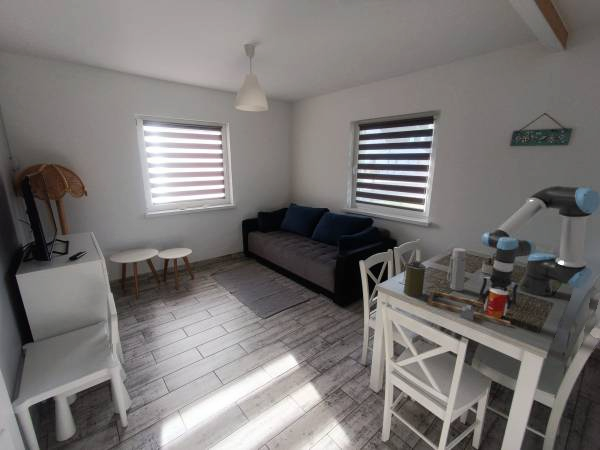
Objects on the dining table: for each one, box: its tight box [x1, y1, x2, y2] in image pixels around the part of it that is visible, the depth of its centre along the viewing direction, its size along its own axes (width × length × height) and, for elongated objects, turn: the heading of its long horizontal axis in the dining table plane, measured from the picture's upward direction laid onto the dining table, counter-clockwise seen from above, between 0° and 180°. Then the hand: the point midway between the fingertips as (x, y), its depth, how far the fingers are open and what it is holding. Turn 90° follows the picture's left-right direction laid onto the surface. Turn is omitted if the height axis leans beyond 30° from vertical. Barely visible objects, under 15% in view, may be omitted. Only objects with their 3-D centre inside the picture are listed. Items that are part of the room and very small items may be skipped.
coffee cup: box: [486, 285, 510, 319], centre depth 132 cm, size 8×8×15 cm
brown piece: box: [426, 289, 511, 328], centre depth 140 cm, size 36×15×2 cm, turn 55°
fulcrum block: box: [460, 304, 475, 321], centre depth 131 cm, size 5×4×6 cm
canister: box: [403, 259, 427, 298], centre depth 154 cm, size 11×10×20 cm
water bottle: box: [446, 247, 467, 292], centre depth 159 cm, size 9×8×25 cm
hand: (494, 311), depth 133 cm, fingers closed on coffee cup, 7 cm apart
